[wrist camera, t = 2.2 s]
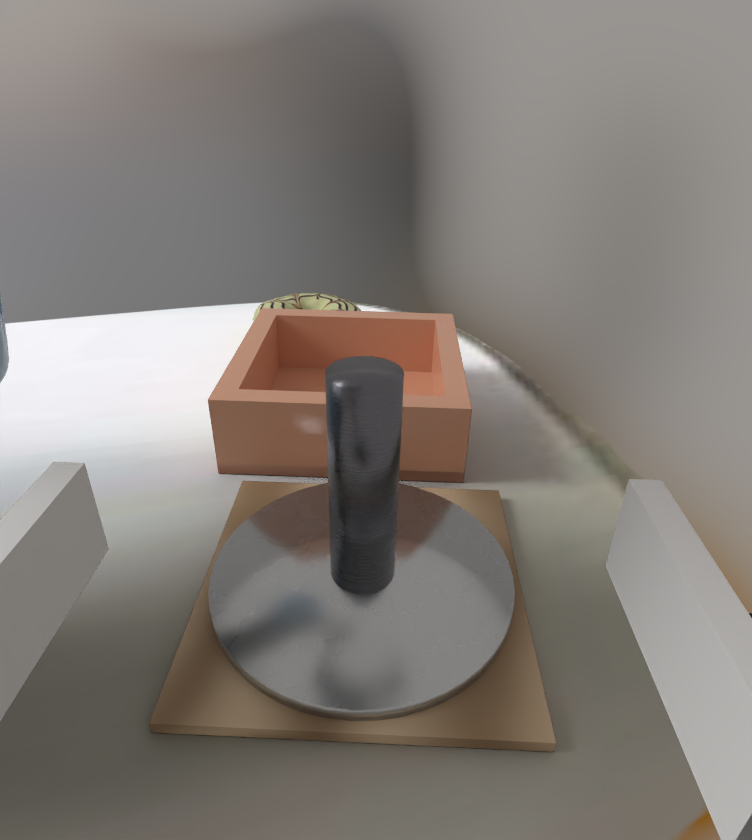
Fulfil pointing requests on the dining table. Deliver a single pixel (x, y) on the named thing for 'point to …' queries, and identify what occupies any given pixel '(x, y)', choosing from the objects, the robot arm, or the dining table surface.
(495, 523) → the trivet
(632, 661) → the dining table surface
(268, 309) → the terracotta square tray
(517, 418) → the dining table surface
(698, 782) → the robot arm
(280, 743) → the dining table surface
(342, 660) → the lid
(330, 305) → the decorated donut
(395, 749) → the dining table surface
